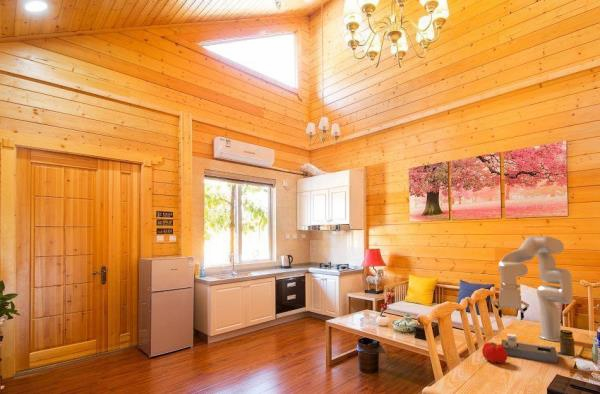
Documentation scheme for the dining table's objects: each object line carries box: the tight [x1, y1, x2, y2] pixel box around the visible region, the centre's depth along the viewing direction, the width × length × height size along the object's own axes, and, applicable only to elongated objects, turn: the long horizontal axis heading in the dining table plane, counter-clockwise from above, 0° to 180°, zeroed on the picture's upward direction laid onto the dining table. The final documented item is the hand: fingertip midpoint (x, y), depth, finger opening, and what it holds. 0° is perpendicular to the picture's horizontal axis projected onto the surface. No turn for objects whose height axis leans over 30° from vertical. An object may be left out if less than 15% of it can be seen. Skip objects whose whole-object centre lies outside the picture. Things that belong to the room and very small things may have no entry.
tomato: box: [481, 341, 508, 364], centre depth 170 cm, size 11×11×9 cm
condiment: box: [556, 329, 579, 359], centre depth 180 cm, size 7×8×12 cm
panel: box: [500, 339, 559, 365], centre depth 179 cm, size 14×24×4 cm, turn 57°
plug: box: [506, 333, 518, 347], centre depth 182 cm, size 5×4×9 cm
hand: (511, 318), depth 184 cm, fingers open, 9 cm apart
